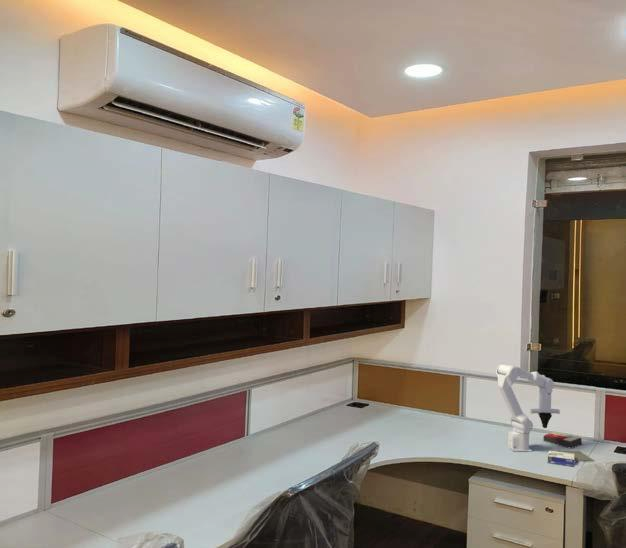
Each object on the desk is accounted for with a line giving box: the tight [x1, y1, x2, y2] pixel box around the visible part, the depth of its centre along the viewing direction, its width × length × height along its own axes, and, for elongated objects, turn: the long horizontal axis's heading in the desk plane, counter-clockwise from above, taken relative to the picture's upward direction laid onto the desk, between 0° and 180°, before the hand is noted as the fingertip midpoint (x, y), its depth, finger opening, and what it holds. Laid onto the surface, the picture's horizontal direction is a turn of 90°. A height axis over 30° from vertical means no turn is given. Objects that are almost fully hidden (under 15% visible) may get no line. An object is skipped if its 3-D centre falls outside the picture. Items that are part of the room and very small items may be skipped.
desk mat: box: [557, 450, 595, 462], centre depth 269 cm, size 11×14×1 cm
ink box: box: [546, 450, 576, 467], centre depth 263 cm, size 12×2×12 cm
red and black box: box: [543, 431, 583, 449], centre depth 292 cm, size 11×4×15 cm
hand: (544, 427), depth 285 cm, fingers closed
